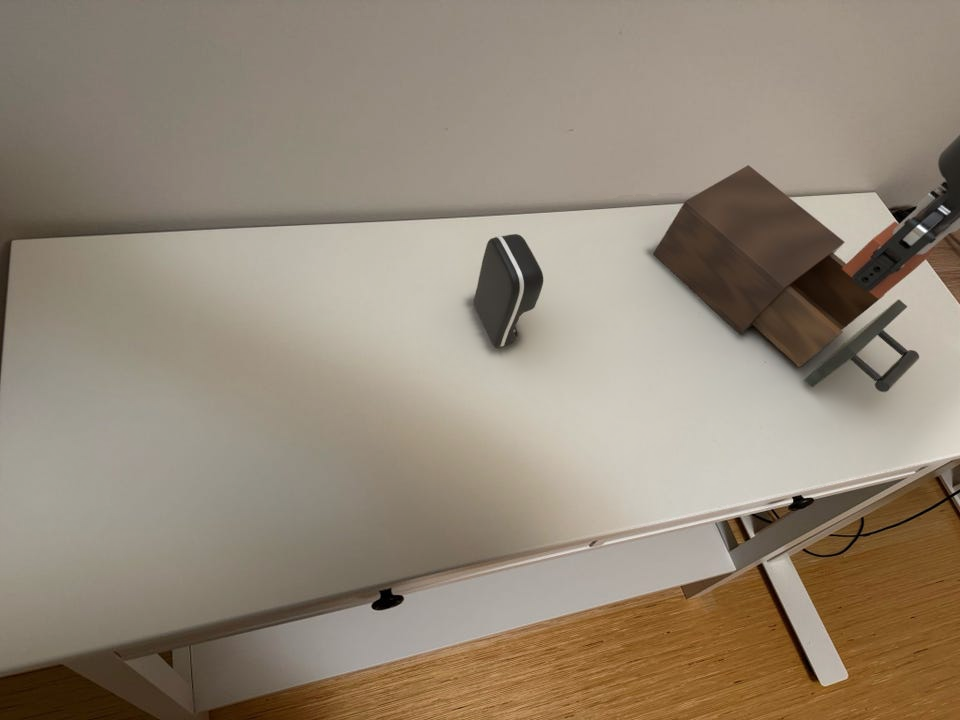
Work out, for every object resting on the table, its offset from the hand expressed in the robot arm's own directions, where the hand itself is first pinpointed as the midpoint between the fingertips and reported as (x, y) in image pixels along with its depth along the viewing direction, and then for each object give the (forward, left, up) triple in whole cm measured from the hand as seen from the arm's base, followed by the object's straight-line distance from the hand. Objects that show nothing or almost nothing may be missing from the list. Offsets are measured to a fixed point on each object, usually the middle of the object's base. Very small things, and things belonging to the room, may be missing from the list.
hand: (873, 273), depth 61 cm
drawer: (-1, 0, -12) cm, 12 cm away
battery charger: (+22, +30, -13) cm, 39 cm away
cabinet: (+12, 0, -12) cm, 17 cm away
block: (0, 0, 0) cm, 0 cm away
